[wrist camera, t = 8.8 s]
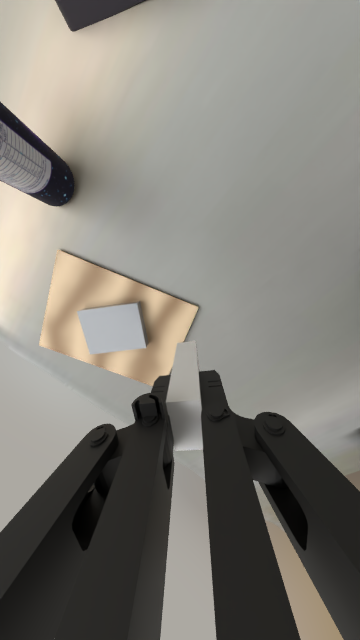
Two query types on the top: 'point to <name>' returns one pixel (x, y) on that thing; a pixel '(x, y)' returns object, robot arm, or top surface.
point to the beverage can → (32, 163)
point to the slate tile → (114, 327)
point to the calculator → (91, 11)
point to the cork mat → (109, 289)
